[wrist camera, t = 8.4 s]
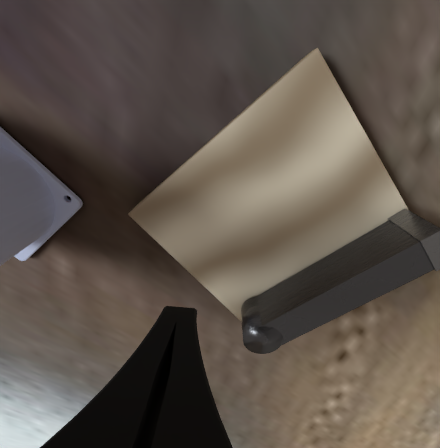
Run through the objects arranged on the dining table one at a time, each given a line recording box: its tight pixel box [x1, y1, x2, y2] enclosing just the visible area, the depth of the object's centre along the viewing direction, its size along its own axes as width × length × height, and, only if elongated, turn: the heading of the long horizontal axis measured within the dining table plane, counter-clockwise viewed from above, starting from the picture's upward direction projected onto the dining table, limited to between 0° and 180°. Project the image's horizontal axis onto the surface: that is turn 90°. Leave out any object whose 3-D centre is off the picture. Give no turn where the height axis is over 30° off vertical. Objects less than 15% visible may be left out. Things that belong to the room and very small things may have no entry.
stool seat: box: [128, 48, 408, 322], centre depth 18 cm, size 15×15×3 cm
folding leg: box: [241, 209, 440, 354], centre depth 18 cm, size 14×3×3 cm, turn 128°
